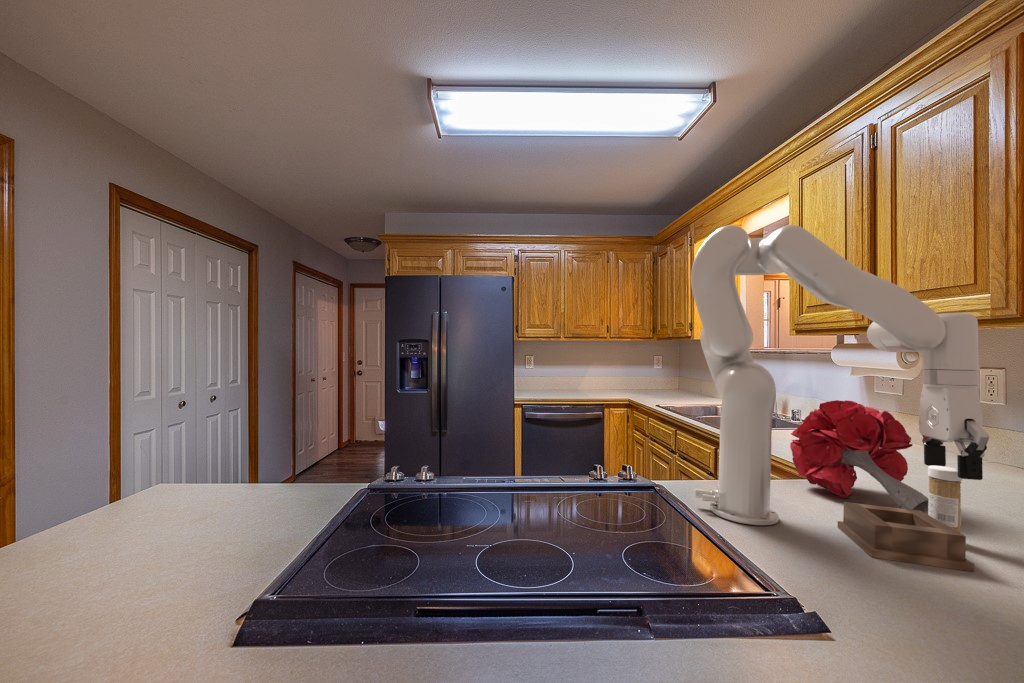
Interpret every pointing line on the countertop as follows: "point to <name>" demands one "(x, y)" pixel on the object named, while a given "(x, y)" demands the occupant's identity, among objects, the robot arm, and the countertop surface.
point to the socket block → (904, 536)
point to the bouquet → (854, 450)
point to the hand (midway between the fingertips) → (951, 471)
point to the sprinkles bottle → (945, 496)
